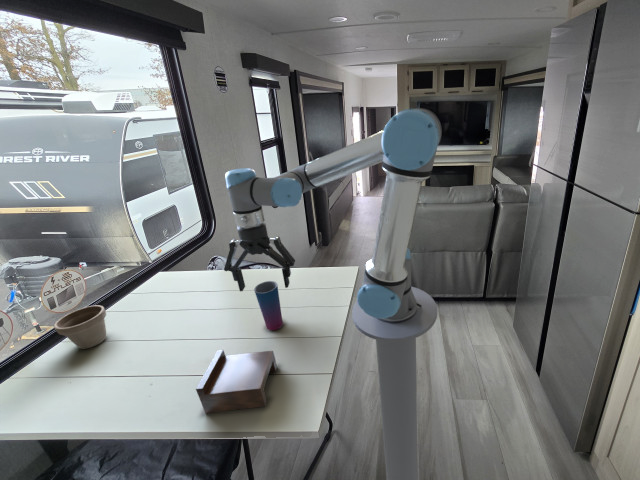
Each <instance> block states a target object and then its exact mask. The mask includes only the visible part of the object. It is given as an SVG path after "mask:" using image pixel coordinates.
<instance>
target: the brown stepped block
mask: <svg viewBox="0 0 640 480" xmlns="http://www.w3.org/2000/svg"><path fill="white" fill-rule="evenodd" d="M277 369H278V365H277V361H276V357H275V353H274V350H265V351H257V352H246V353H238V354H227V355H226V354H225V350H224V349H218V350H216V352H215V354H214V356H213V358H212V360H211V361H210V363H209V365H208V366H207V368H206V370H205V371H204V374H203V376H202V377H201V379H200V381H199V382H198V385H197V387H196V388H195V391H196V393H197V396H198V399H199V401H200V403H201V406H202V409H203V411H204V413H205V414H212V413H219V412H226V411H235V410H243V409H253V408H261V407H266V405H267V403H268V399H267V396H266V392H265V388H266V387H265V386H266V383H267V380H268V378H269V374H270V373H275V372H277Z"/></svg>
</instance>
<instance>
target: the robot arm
mask: <svg viewBox="0 0 640 480" xmlns="http://www.w3.org/2000/svg"><path fill="white" fill-rule="evenodd" d="M442 134H443V130H442V125H441V122H440V120H439V118H438V116H437V115H436V114H435V113H434V112H433V111H431V110H430V109H426V108H424V107H423V108H422V107H415V108H407V109H403V110H400V111H398V112H397V113H395V114H394V115H393V116H392V117H391V118H390V119H389V120H388V122H387V123H386V125H385V126H384V128H383V130H381V131H379V132H377V133H374V134H372V135H370V136H368V137H365V138H363V139H360V140H358V141H355V142H353V143H351V144H349V145H346V146H343V147H342V148H339V149H337V150H334V151H333V152H330V153H328V154H325V155H323V156H321V157H318V158H316V159H314V160H311V161H309V162H307V163H305V164H302V165H299V166H296V167H294V168H293V169H290V170H288V171H286V172H282V173H281V174H278V175H276V176H274V177H258V176H257V175H256V171H255V170H254V169H253V168H246V167H244V168H235V169H231V170H229V171H227V172H225V175H224V177H225V178H224V179H225V185H226V190H227V193H228V196H229V201H230V204H231V209H232V213H233V217H234V221H235V225H236V226H237V228H236V229H237V233H238V238H239V240H236V239H235V238H233V239H232V240H231V241H230V242H229V243H228V246H229V251H228V254H227V257H226V261H225V263H224V268H223V271H224V272H231V274H232V279H233V281H234V282H237V285H238V289H239V292H243V291H244V290H245V288H246V283H245V279H244V276H243V271H242V268H240V266H241V264H242V263H243V262H244V260H245V258H246V257H247V256H248V254H249V255H251V256H255V255H263V254H264V255H265V256H269V257H270V259H271V260H273V261H274V262H276V263H277V264H278V265H280V266H281V267H282V268H281V274H282V278H283V282H284V288H285V289H288V288H289V285H290V277H291V275H292V272H291V267H294V265H295V264H296V259H295V258H294V256H293V255H292V254H291V253H290V252H289V250H288V249H287V247H286V246H284V243H282V239H281V237H280V236H278V235H276V236H275V237H273V238H270V237H269V236H268V228H267V225H266V222H265V221H266V220H265V214H264V210H263V207H264V206H265V207H278V208H279V207H280V208H289V207H290V208H291V207H296V206H297V205H299V203H300V201H301V200H302V197H303V196H302V195H303V194H304V193H306V192H309V191H311V190H313V189H316V188H318V187H321V186H323V185H326V184H328V183H332V182H334V181H336V180H339V179H341V178H344V177H347V176H349V175H352V174H355V173H357V172H360V171H362V170H365V169H368V168H370V167H373V166H375V165H378V164H380V163H381V169H382V171H383V172H384V174H386V177H385V184H384V189H383V195H382V201H381V207H380V211H379V218H378V224H377V231H376V237H375V242H374V248H373V255H372V257H371V258H370V259H369V260H368V261H366V264H365V268H364V273H363V280H362V284H361V287H359V289H358V291H357V295H356V301H358V304H359V306H360V308H361V309H363V310H364V312H365V313H366V314H368V315H370V316H372V317H375V318H378V319H379V320H381V321H384V322H388V323H400V322H404V321H407V320H409V319H410V318H412V317H413V316H414V315H415V313H416V311H417V306H419V307H422V306H421V305H420V304H418V303H417V302H416V299H415V297H414V294H413V292H412V289H411V287H412V256H411V250H410V249H409V243H410V240H411V235H412V231H413V226H414V222H415V217H416V213H417V208H418V203H419V199H420V194H421V190H422V185H423V182H425V181H426V180H428V179H429V178H431V176H432V171H433V167H434V163H435V159H436V154H437V150H438V147H439V144H440V143H441V140H442ZM271 244H272V246H273V247H275V249H276V250H277V251H278V252H279V253H278V252H277V251H276V250H275V249H274V248H273V247H272V246H271ZM239 247H240V248H242V249H243V252H242V253H241V254H240V256H239V257H238V259H237V260H236V261H235V263H234V265H233V262H234V259H235V255H236V253H237V249H238V248H239Z"/></svg>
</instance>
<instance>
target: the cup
mask: <svg viewBox="0 0 640 480" xmlns="http://www.w3.org/2000/svg"><path fill="white" fill-rule="evenodd" d="M253 290H254V294H255V297H256V300H257V303H258V306H259V309H260V312H261V315H262V317H263V320H264V324H265V327H266V329H267V330H268V331H277V330H279V329H280V328H282V327H283V325H284V323H283V322H284V321H283V315H282V307H281V301H280V293H279V286H278V283H277V282H276V281H273V280H266V281H263V282H260V283H259V284H257V285H256V286H255V287H254V289H253Z"/></svg>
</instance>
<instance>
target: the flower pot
mask: <svg viewBox="0 0 640 480" xmlns="http://www.w3.org/2000/svg"><path fill="white" fill-rule="evenodd" d="M106 316H107V311H106V310H105V307H104V306H103V305H99V304H98V305H96V304H95V305H90V306H84V307H82V308H78V309H77V310H74V311H71V312H69V313H67V314H65V315H63V316H61V317H60V318H59V319H58V320H57V321H56V322H55V323H54V325H53V328H54V330H55V331H56V333H57V334H58V335H61V336H65V337H66V338H67V339H68V340H69V341H71V342H72V343H73V344H74V345H75V346H76V347H78V348H79V349H81V350H86V349H90V348H94V347H95V346H96V347H97V345H100V344H101V343H103V342H104V341H105V340H106V338H107V327H106V322H105V321H106V320H105V318H106Z"/></svg>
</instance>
